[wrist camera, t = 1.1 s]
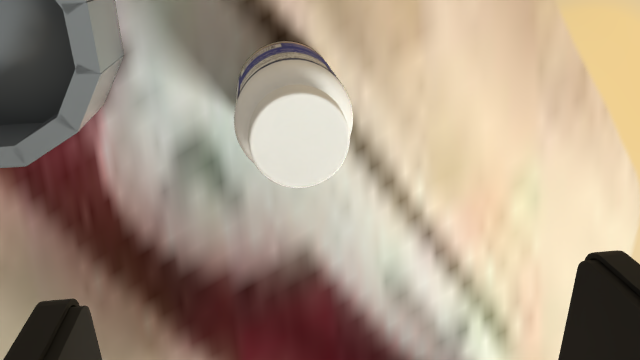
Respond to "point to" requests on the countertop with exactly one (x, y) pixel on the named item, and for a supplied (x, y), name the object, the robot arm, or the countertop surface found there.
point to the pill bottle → (292, 115)
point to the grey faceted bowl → (53, 71)
